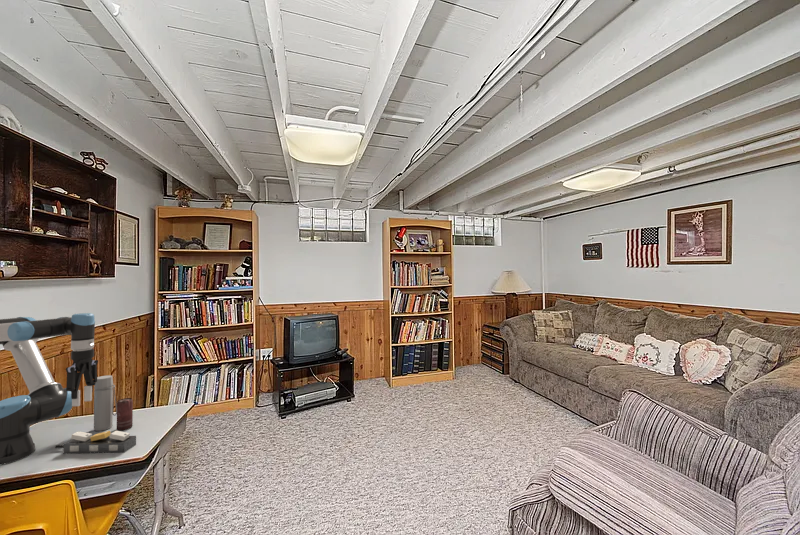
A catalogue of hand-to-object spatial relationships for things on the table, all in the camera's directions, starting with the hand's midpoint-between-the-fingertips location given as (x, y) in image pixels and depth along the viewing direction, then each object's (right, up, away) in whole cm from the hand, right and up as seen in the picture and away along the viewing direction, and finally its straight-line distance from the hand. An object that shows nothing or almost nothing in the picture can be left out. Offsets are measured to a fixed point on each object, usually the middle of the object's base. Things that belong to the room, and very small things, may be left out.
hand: (82, 403), depth 153 cm
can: (+2, -20, +21) cm, 29 cm away
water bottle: (-8, -20, +21) cm, 31 cm away
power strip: (+5, -20, 0) cm, 20 cm away
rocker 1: (0, -14, 0) cm, 14 cm away
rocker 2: (+16, -14, 0) cm, 21 cm away
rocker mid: (+8, -14, 0) cm, 16 cm away
